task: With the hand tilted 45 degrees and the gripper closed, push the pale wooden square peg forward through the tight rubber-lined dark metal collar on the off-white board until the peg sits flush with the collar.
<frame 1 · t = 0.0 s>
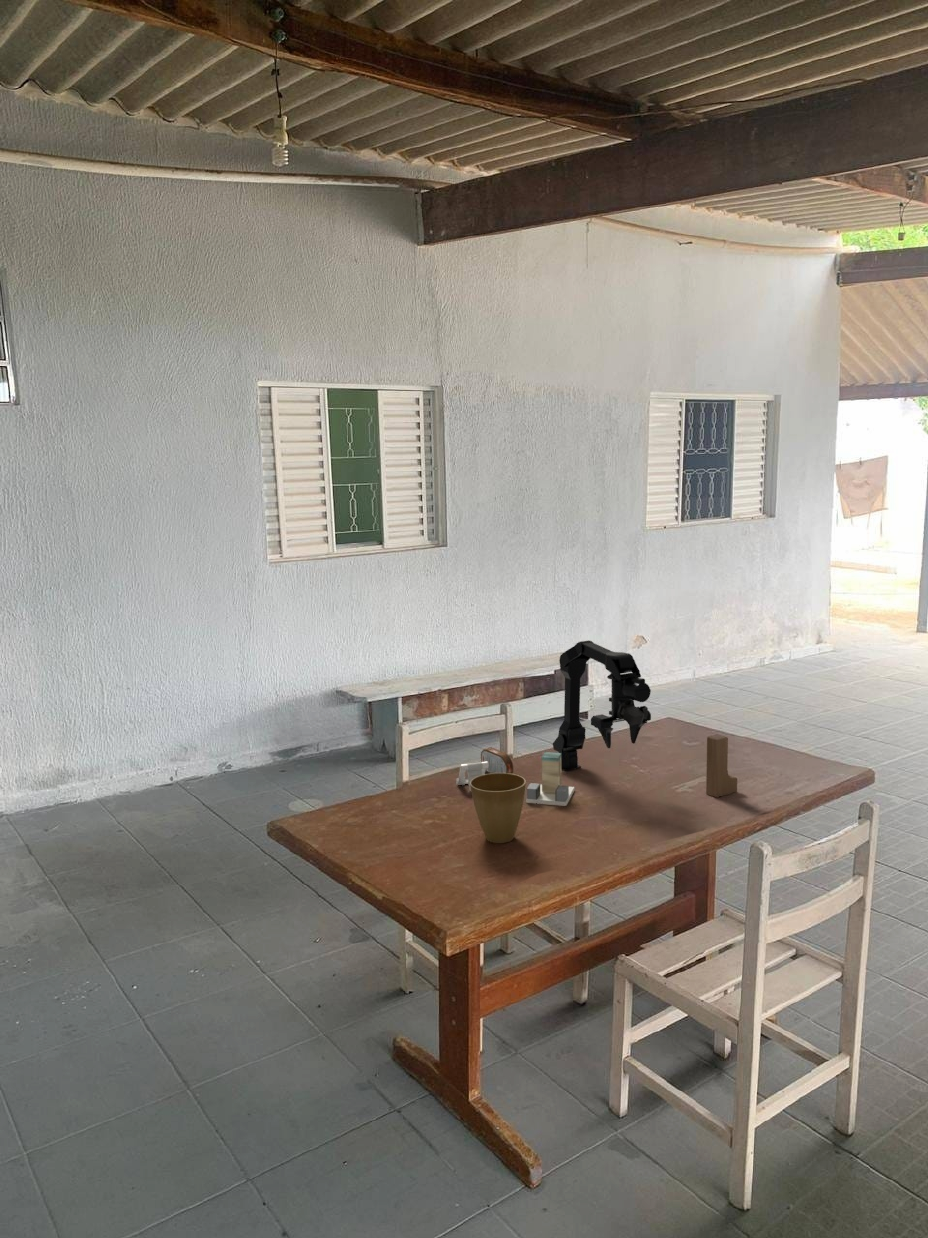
hand: (621, 745, 280), 15 cm above the table, tool pointing down, fingers open, 9 cm apart
tin: (496, 775, 301), on the table
wooden block: (721, 793, 279), on the table
portable electronic device stand: (473, 787, 290), on the table
plant pot: (498, 839, 249), on the table
peg: (551, 772, 280), point 7 cm above the table, slide at 6.0 cm
band collar: (547, 801, 275), on the table
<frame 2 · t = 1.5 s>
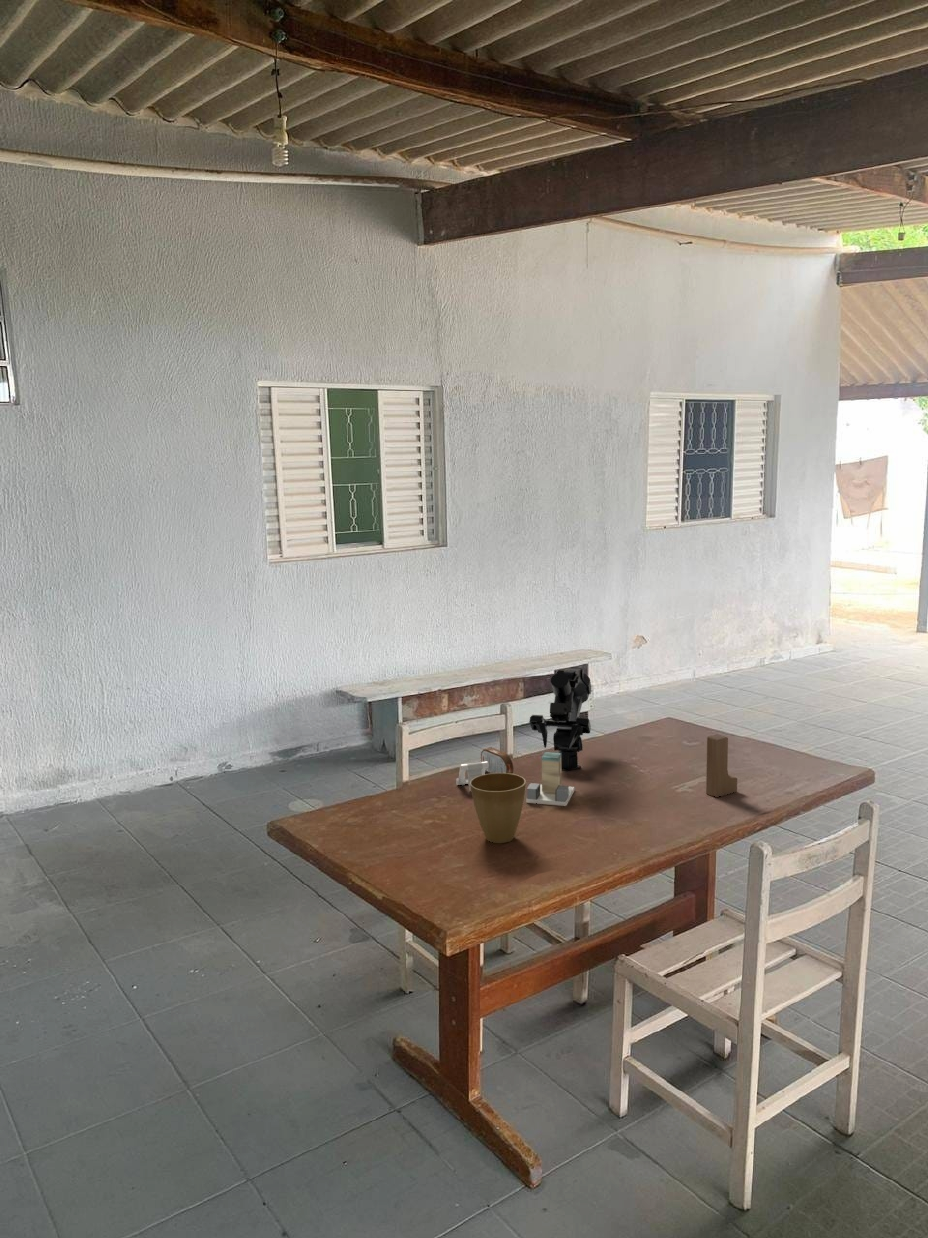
hand: (556, 748, 286), 12 cm above the table, tool tilted 45°, fingers open, 7 cm apart
nothing on the table moved.
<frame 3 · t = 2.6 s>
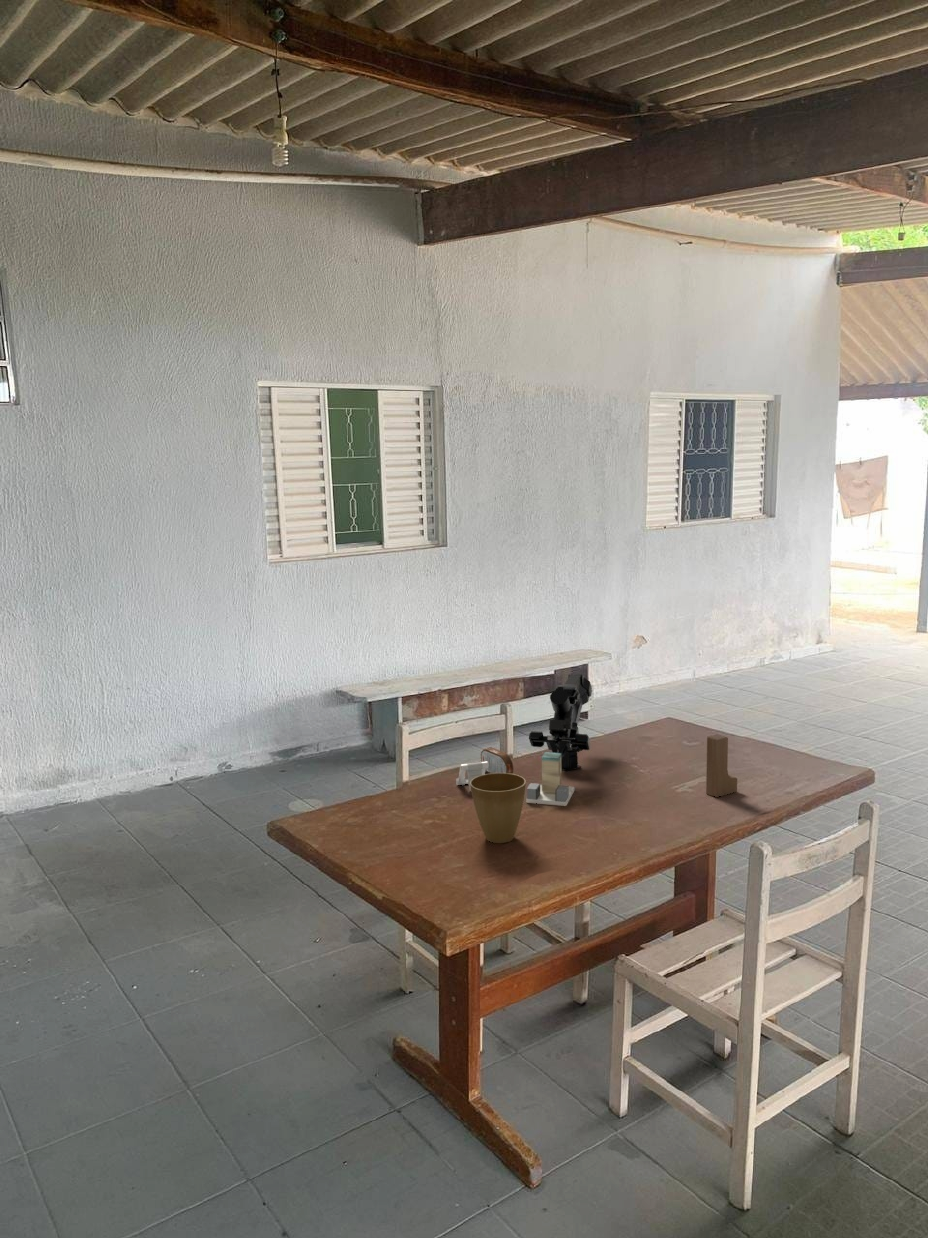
hand: (555, 764, 286), 7 cm above the table, tool tilted 45°, fingers closed
nothing on the table moved.
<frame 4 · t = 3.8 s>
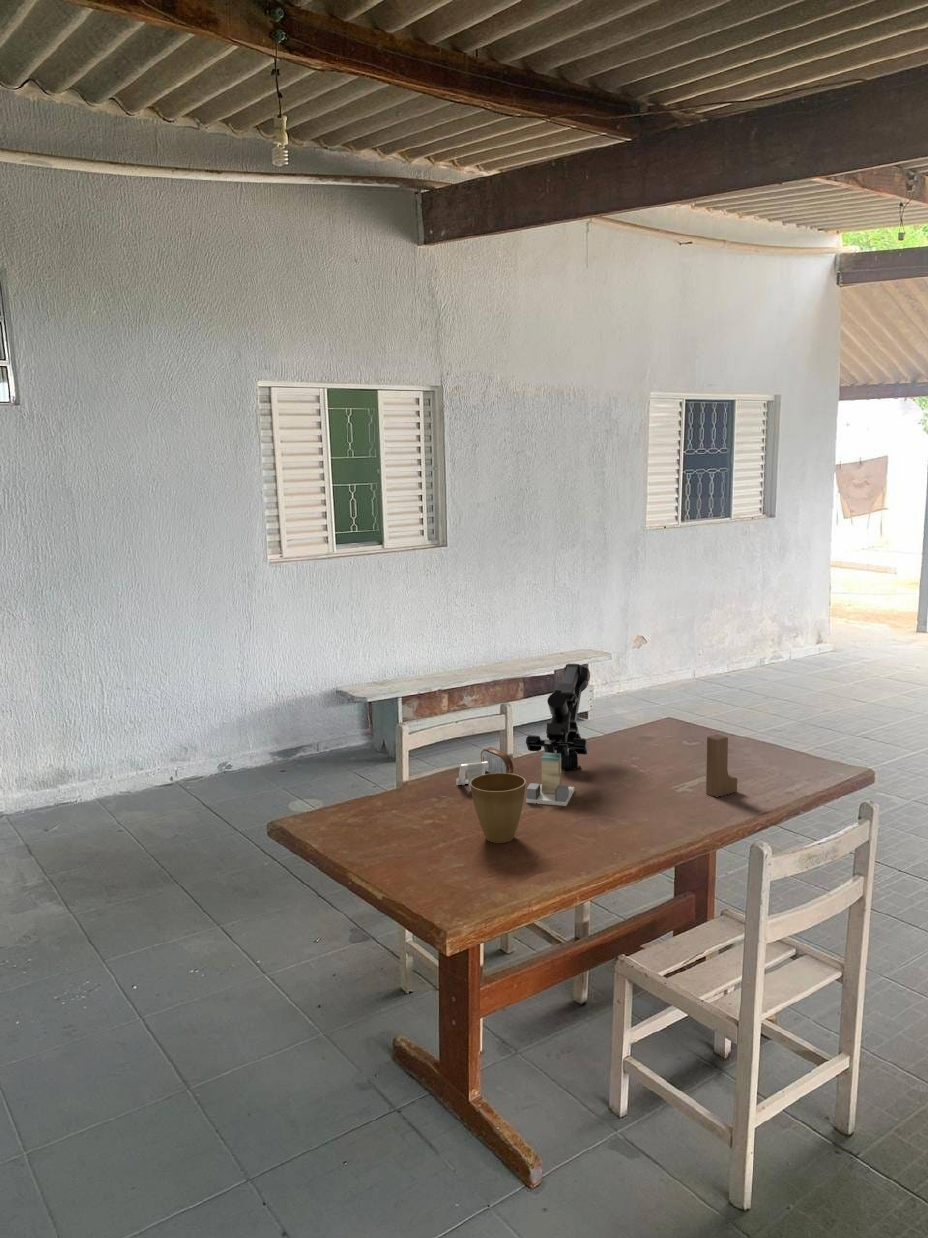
hand: (553, 769, 282), 7 cm above the table, tool tilted 45°, fingers closed, pressing on peg
peg: (551, 773, 280), point 7 cm above the table, slide at 5.6 cm, touching gripper
everything else where it was.
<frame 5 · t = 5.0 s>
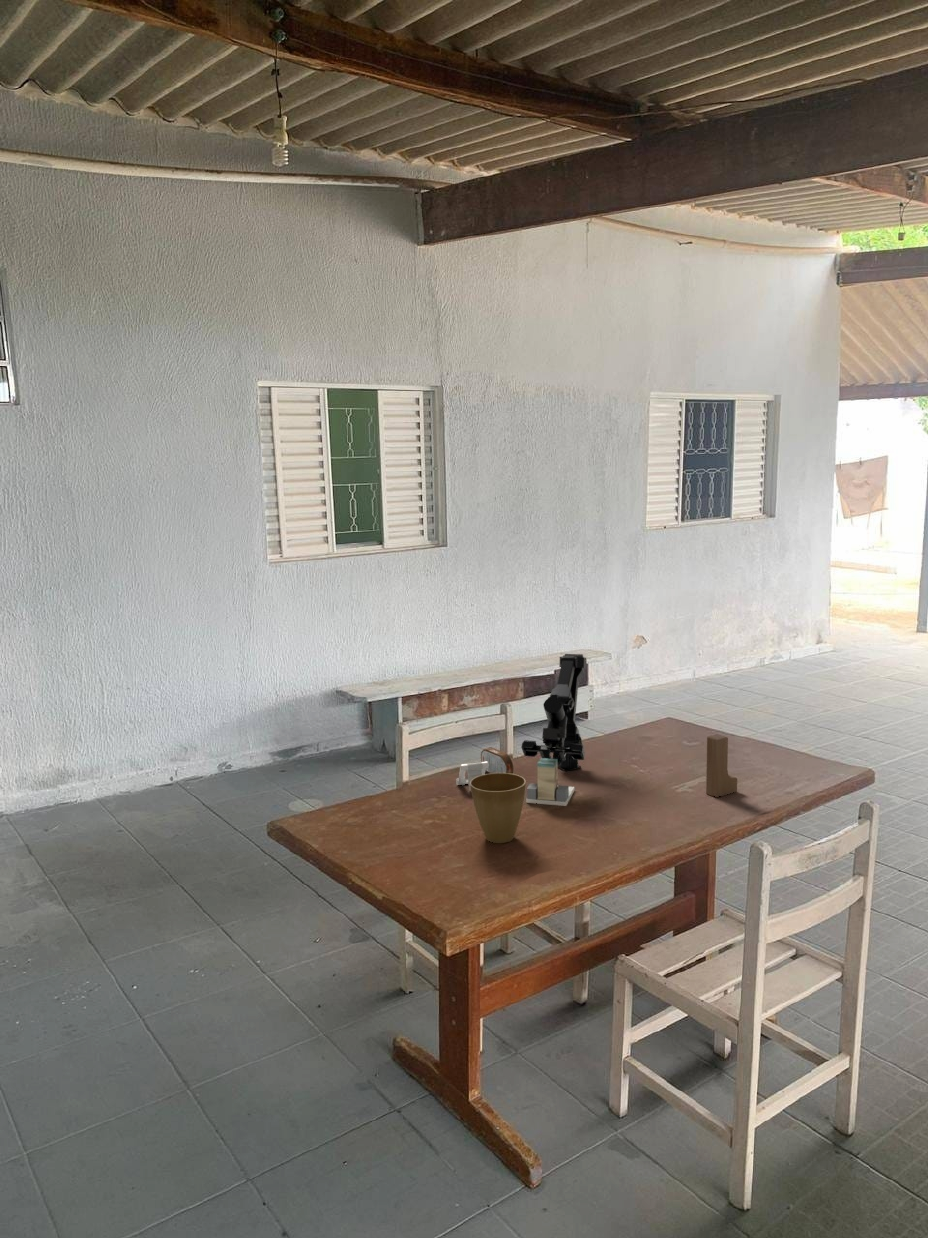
hand: (549, 775, 277), 7 cm above the table, tool tilted 45°, fingers closed, pressing on peg
peg: (547, 779, 274), point 7 cm above the table, slide at -0.1 cm, touching gripper
everything else where it was.
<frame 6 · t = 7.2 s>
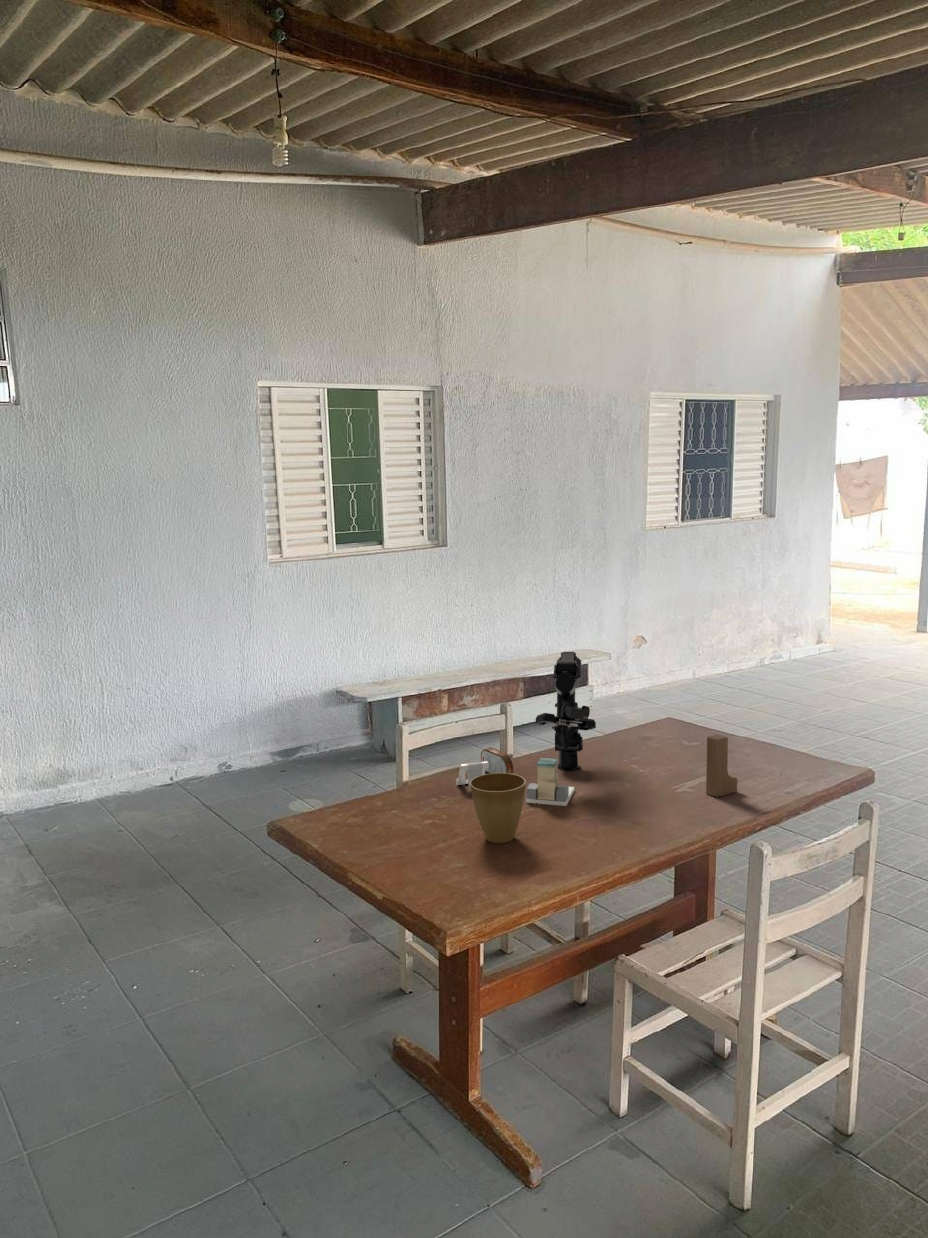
hand: (565, 749, 286), 12 cm above the table, tool tilted 25°, fingers closed
peg: (547, 779, 274), point 7 cm above the table, slide at 0.0 cm
everything else where it was.
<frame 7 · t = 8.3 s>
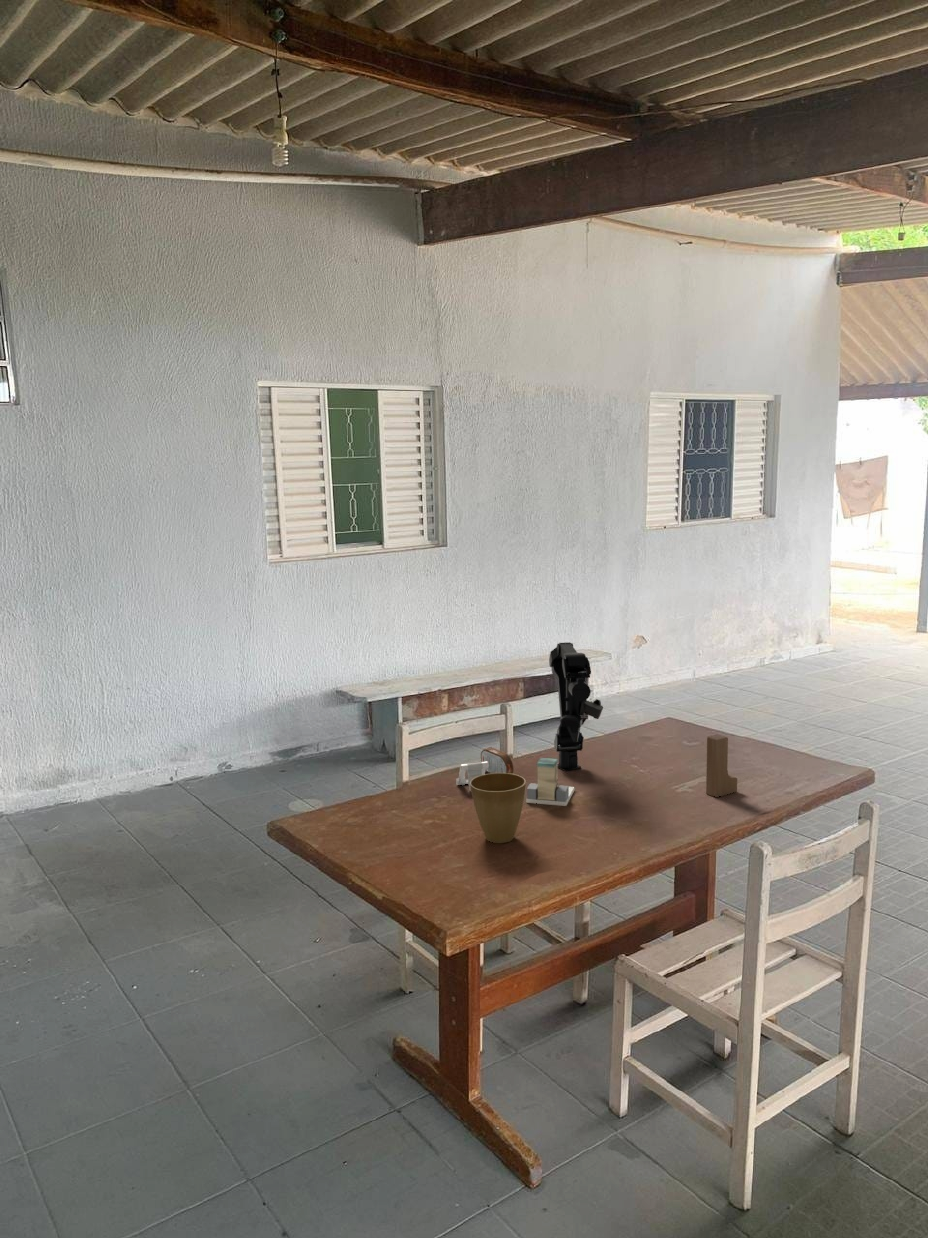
hand: (575, 741, 290), 13 cm above the table, tool pointing down, fingers closed
nothing on the table moved.
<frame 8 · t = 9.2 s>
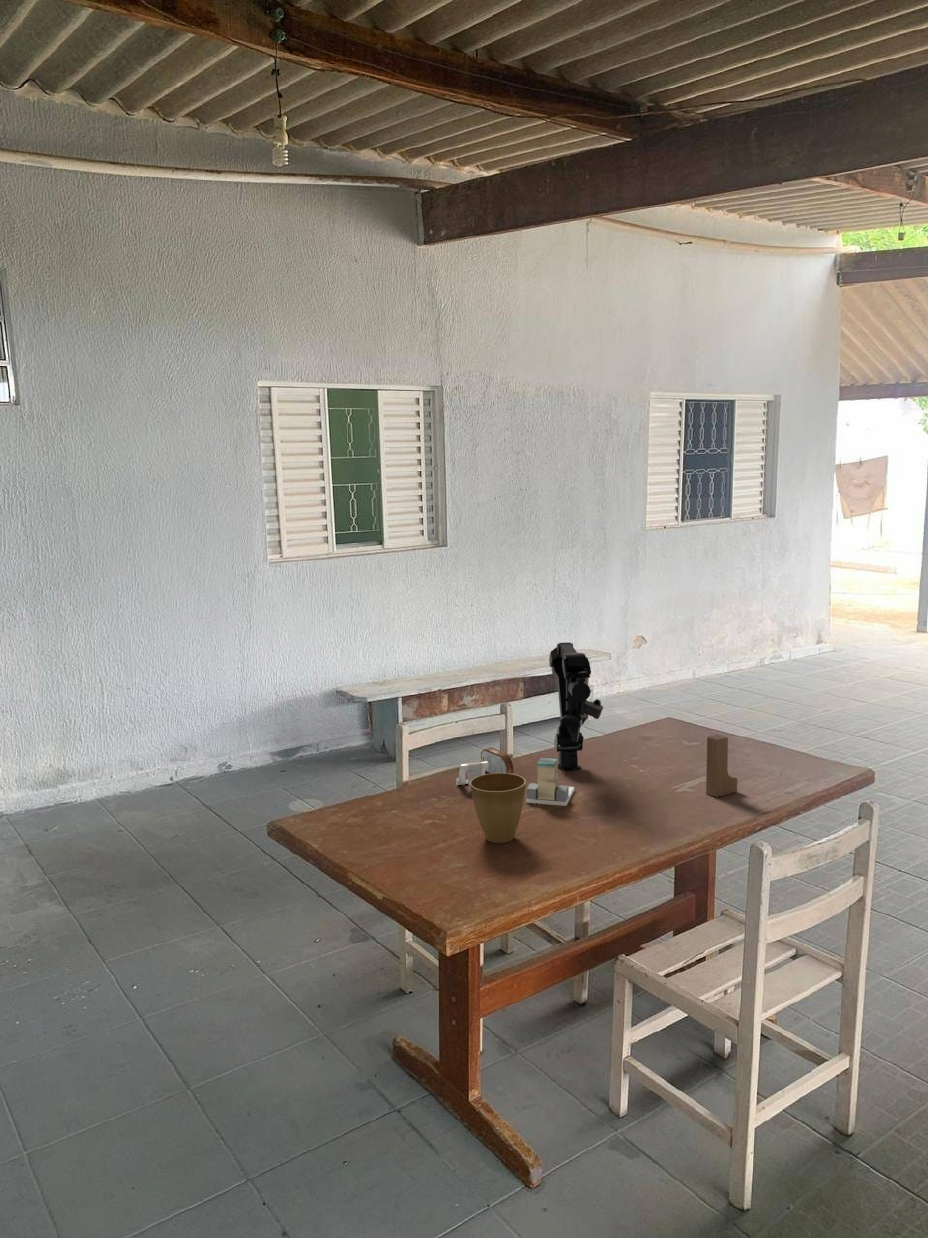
hand: (575, 741, 290), 13 cm above the table, tool pointing down, fingers closed
nothing on the table moved.
at the end: peg slide at 0.0 cm; wooden block moved 0.2 cm from its start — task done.
